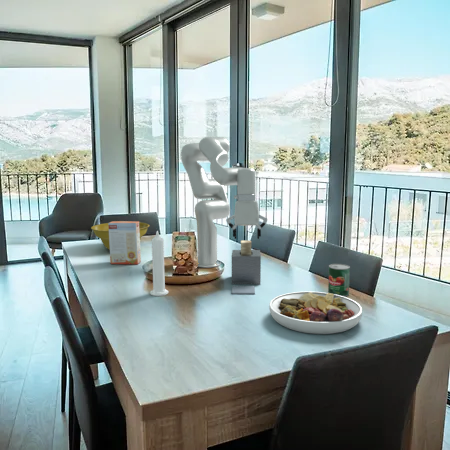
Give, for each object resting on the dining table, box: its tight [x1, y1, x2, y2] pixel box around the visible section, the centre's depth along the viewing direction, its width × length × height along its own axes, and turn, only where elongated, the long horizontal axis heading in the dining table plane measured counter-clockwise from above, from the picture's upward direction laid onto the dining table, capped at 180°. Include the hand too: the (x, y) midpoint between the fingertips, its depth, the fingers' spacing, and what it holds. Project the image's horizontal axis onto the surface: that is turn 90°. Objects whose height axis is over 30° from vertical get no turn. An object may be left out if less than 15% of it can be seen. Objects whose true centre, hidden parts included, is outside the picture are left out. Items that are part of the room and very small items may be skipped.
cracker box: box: [107, 220, 142, 265], centre depth 224 cm, size 14×6×21 cm, turn 84°
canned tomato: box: [327, 263, 351, 297], centre depth 176 cm, size 8×8×11 cm
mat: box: [231, 285, 256, 295], centre depth 181 cm, size 9×9×1 cm
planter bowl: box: [90, 221, 150, 251], centre depth 257 cm, size 32×32×13 cm
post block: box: [231, 249, 262, 286], centre depth 194 cm, size 12×12×12 cm
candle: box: [149, 230, 169, 297], centre depth 176 cm, size 7×7×25 cm
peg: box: [240, 240, 252, 255], centre depth 193 cm, size 4×4×10 cm
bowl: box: [268, 291, 363, 335], centre depth 150 cm, size 30×30×8 cm
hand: (246, 238), depth 192 cm, fingers open, 9 cm apart
